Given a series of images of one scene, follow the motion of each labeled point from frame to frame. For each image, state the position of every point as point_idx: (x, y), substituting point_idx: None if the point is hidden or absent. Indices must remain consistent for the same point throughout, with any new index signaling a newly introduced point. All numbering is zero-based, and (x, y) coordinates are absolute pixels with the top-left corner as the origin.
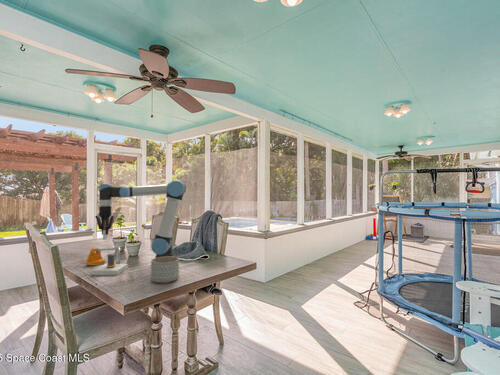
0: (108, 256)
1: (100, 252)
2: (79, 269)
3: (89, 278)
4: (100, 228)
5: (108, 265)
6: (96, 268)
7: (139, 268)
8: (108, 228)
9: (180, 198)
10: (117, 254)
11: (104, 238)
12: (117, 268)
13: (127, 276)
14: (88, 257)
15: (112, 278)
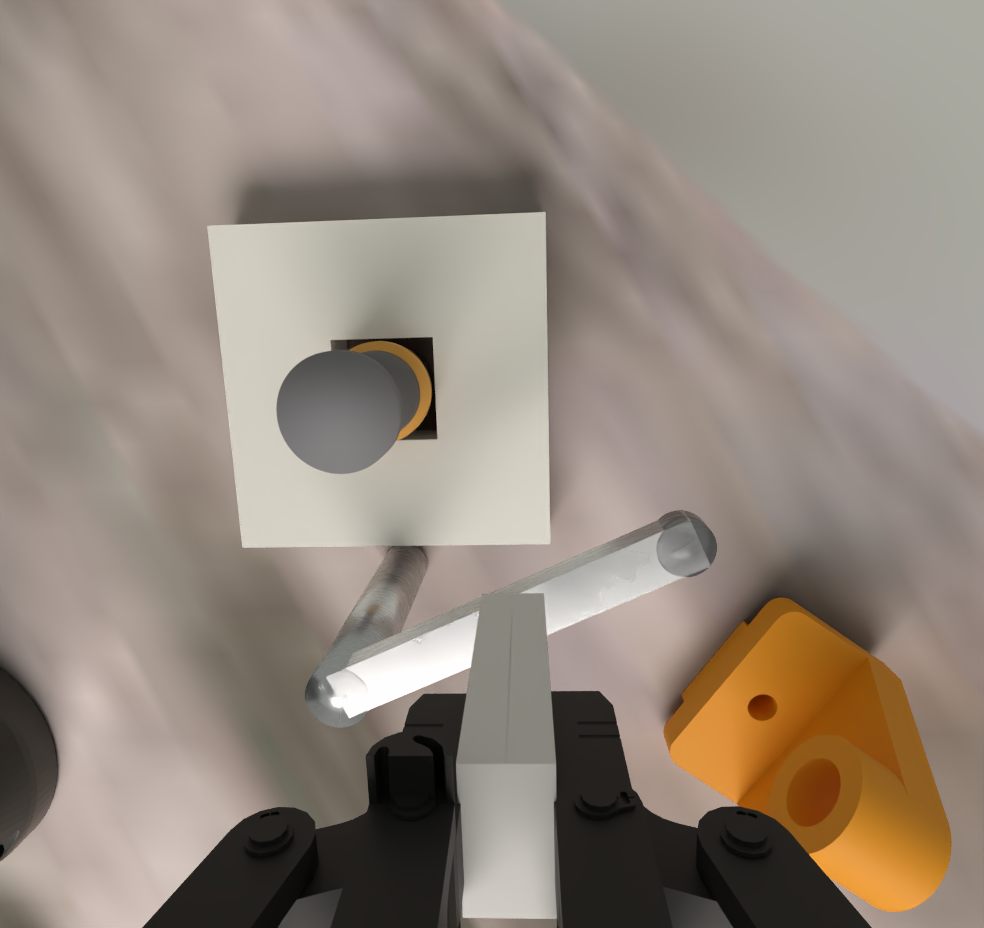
0: (355, 352)
1: None
2: (852, 458)
3: (499, 76)
4: (702, 834)
5: (390, 352)
6: (542, 310)
7: (115, 520)
8: (275, 829)
9: None
10: (361, 613)
11: (499, 609)
12: (256, 323)
13: (78, 186)
14: (899, 716)
15: (213, 94)
